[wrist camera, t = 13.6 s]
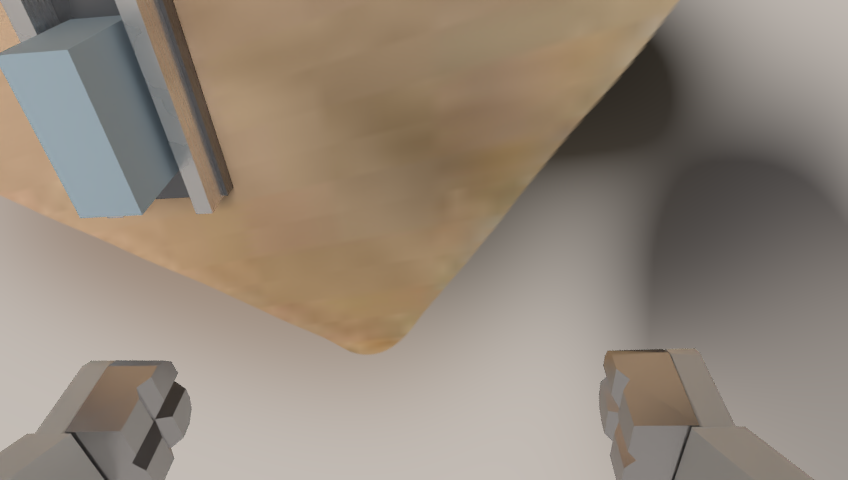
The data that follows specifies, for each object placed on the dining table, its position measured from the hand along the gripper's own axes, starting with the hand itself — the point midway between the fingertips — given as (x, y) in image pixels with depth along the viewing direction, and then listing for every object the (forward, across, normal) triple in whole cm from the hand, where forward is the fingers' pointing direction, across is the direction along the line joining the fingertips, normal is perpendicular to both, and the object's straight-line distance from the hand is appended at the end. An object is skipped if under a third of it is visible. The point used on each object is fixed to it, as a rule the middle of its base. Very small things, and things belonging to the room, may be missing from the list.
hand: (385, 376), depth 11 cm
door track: (+29, +20, +4) cm, 36 cm away
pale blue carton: (+28, +20, +4) cm, 35 cm away
